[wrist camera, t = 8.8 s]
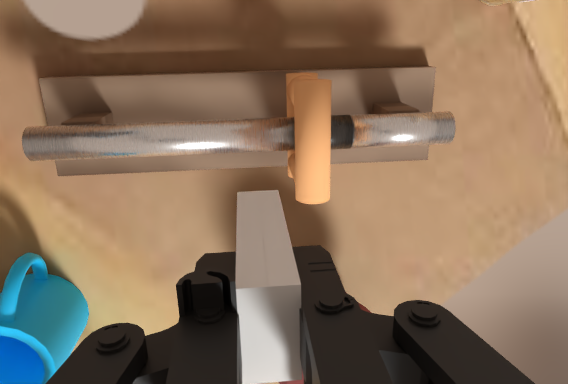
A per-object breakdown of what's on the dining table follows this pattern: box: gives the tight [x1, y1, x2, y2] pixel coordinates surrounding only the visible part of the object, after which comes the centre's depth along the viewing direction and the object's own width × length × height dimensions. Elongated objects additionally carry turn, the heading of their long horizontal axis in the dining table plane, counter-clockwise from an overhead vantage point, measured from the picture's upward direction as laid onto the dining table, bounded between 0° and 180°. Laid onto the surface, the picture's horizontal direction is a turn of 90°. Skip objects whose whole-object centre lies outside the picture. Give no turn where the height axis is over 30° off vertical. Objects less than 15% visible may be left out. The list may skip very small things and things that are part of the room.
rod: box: [22, 112, 455, 161], centre depth 32 cm, size 30×2×2 cm, turn 91°
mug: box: [0, 253, 89, 384], centre depth 39 cm, size 12×8×8 cm
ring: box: [286, 72, 332, 204], centre depth 32 cm, size 8×2×8 cm, turn 1°
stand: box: [39, 66, 436, 176], centre depth 36 cm, size 8×32×6 cm, turn 91°
